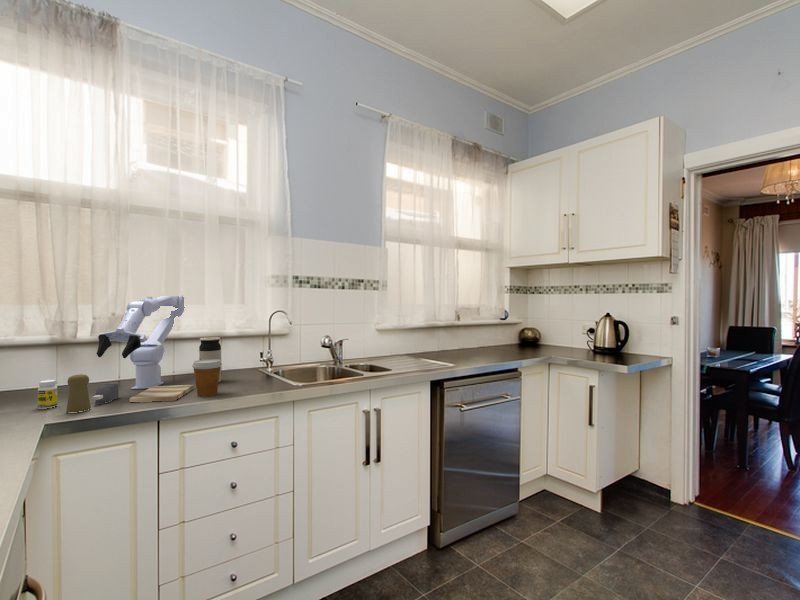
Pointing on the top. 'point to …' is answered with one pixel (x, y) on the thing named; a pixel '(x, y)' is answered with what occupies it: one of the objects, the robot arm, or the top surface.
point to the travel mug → (210, 349)
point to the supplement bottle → (47, 394)
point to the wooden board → (162, 393)
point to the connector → (106, 393)
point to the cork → (78, 393)
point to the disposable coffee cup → (207, 376)
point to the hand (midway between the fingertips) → (111, 355)
